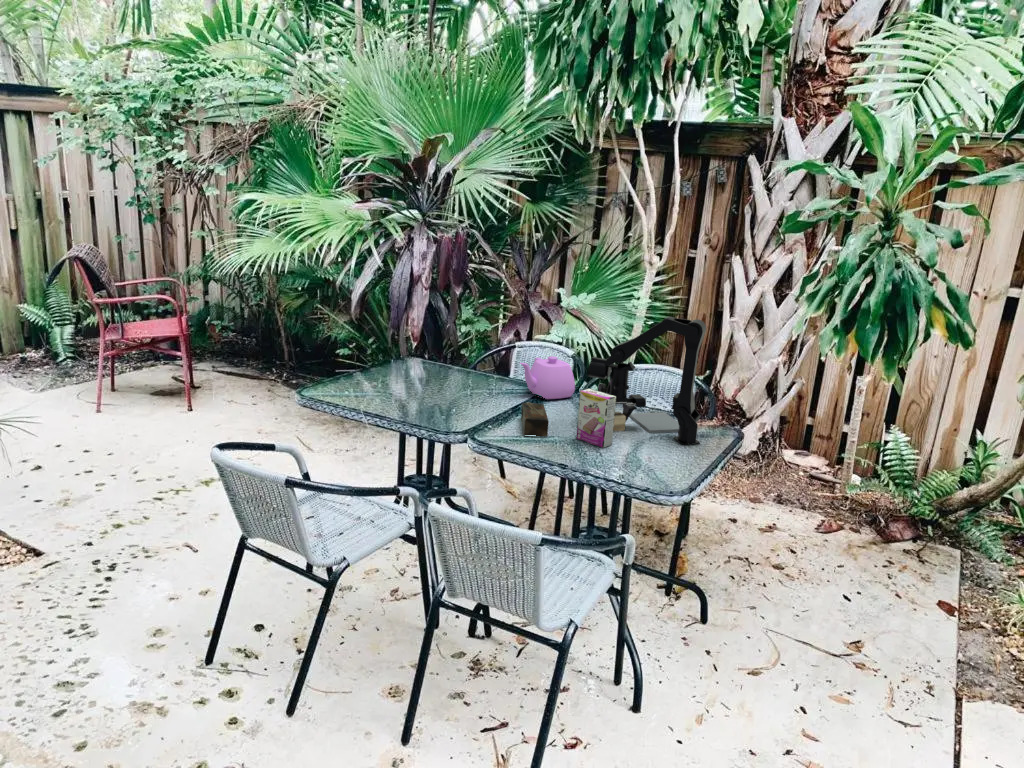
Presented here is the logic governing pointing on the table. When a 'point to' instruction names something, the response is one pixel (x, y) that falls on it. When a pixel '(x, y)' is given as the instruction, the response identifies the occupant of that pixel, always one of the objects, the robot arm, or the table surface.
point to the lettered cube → (619, 422)
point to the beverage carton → (534, 419)
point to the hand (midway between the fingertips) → (615, 425)
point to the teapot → (550, 378)
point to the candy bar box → (596, 417)
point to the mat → (656, 422)
